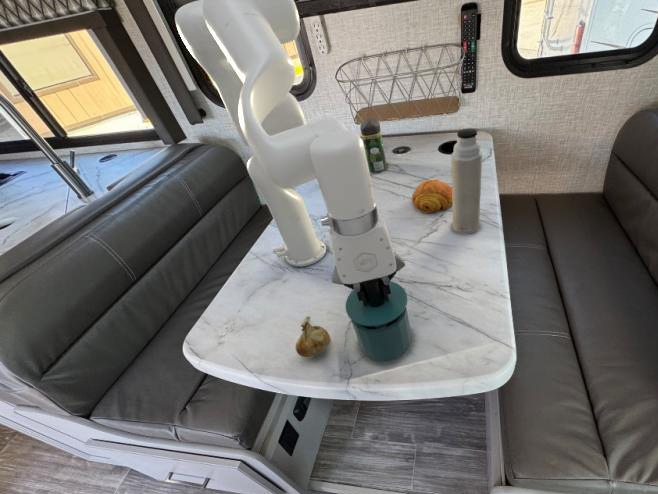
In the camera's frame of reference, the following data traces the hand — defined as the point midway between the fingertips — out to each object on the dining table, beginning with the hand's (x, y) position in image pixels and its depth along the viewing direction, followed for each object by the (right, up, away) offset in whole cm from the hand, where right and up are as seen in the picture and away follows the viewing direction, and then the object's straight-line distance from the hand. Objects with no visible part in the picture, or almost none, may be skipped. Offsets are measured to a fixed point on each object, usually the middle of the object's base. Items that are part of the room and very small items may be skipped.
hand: (375, 298), depth 66 cm
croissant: (+17, +33, +50) cm, 62 cm away
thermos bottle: (+25, +22, +38) cm, 51 cm away
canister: (+2, -10, +10) cm, 14 cm away
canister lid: (0, -1, +1) cm, 1 cm away
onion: (-14, -12, +11) cm, 22 cm away
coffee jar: (-5, +56, +76) cm, 95 cm away
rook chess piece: (+1, -10, +10) cm, 14 cm away
